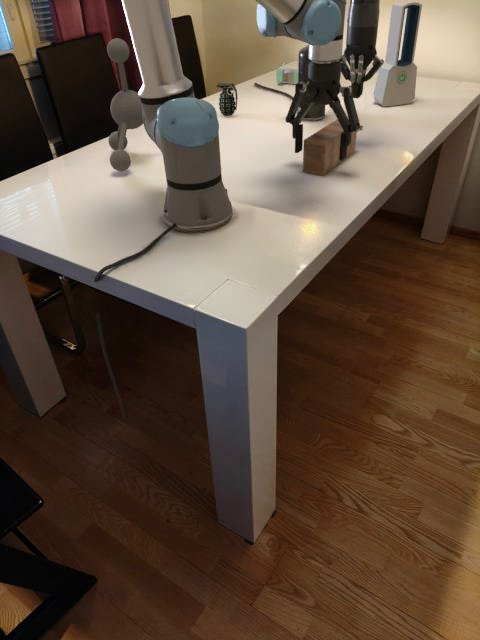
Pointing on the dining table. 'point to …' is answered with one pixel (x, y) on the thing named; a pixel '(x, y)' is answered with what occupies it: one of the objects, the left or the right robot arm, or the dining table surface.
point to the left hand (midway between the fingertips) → (320, 155)
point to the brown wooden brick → (325, 149)
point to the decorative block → (288, 73)
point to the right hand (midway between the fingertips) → (356, 97)
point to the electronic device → (398, 74)
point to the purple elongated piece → (358, 130)
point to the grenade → (227, 99)
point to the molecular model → (123, 108)
